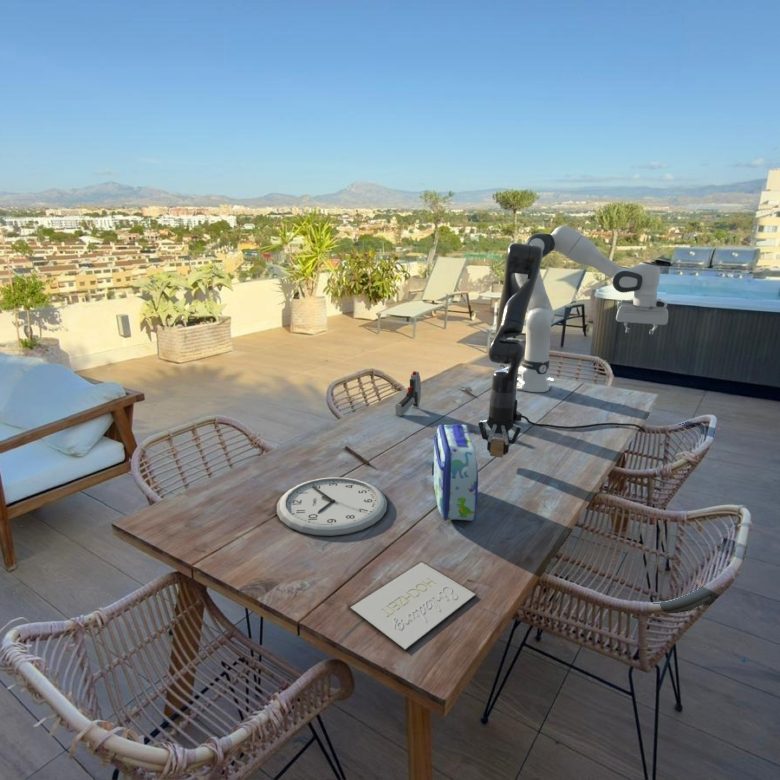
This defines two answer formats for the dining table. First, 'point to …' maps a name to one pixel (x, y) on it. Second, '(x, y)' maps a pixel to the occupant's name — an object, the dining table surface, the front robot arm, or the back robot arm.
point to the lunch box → (455, 472)
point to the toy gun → (410, 395)
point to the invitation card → (412, 604)
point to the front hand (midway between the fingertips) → (497, 452)
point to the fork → (464, 389)
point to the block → (497, 447)
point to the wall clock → (331, 506)
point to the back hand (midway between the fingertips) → (639, 333)
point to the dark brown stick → (357, 455)
